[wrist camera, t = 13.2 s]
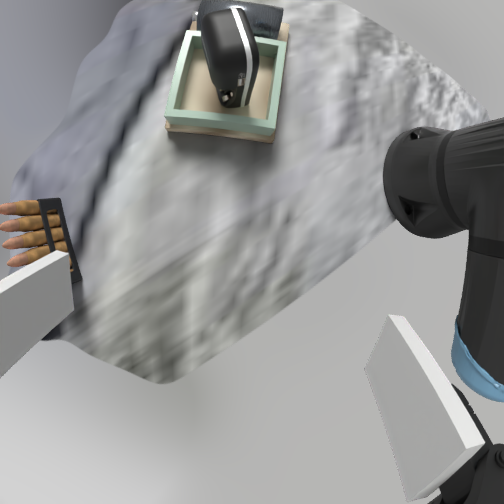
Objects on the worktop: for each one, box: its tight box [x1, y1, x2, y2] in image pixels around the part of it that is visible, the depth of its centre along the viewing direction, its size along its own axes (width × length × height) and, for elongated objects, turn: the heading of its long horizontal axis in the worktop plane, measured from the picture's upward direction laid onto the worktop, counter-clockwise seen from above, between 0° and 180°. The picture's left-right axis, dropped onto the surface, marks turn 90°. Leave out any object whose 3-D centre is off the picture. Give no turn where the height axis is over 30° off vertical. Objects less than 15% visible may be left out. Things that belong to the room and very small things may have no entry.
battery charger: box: [201, 7, 260, 108], centre depth 22 cm, size 7×4×11 cm, turn 14°
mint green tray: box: [164, 0, 289, 144], centre depth 26 cm, size 12×17×6 cm
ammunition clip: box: [0, 198, 82, 284], centre depth 24 cm, size 11×2×12 cm, turn 15°
